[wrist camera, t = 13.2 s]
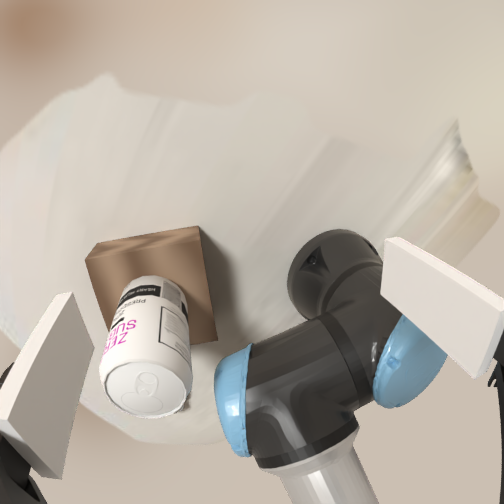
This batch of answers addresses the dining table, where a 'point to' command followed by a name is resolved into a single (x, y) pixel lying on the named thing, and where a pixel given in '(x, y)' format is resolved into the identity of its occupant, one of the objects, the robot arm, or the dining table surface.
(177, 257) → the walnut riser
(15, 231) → the dining table surface
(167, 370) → the supplement can
